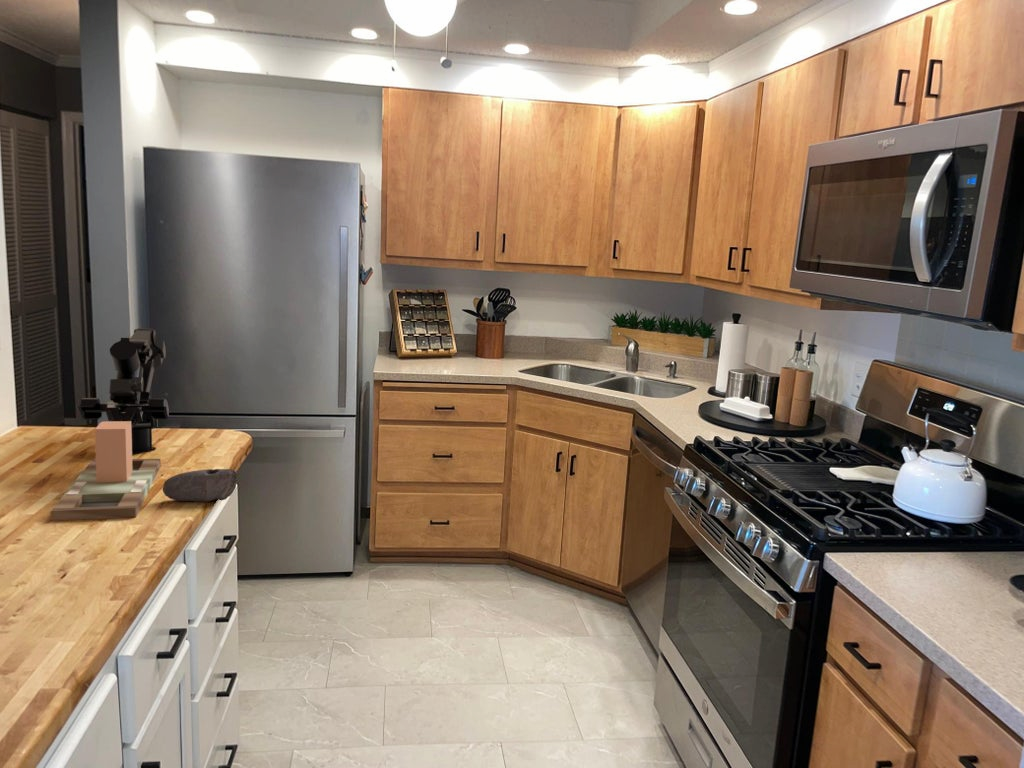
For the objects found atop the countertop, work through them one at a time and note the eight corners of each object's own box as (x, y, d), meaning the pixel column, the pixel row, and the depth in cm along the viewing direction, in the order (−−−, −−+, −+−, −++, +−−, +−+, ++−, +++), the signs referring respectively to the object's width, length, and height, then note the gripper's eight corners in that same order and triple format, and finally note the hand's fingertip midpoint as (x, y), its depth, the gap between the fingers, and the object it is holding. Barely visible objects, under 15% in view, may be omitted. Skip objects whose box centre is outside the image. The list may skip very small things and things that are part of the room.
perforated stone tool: (160, 505, 160) (159, 474, 159) (165, 497, 165) (164, 466, 164) (235, 504, 164) (235, 473, 162) (237, 496, 169) (237, 466, 167)
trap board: (92, 467, 181) (92, 459, 180) (160, 466, 185) (160, 457, 185) (51, 520, 148) (50, 510, 147) (135, 517, 152) (135, 506, 152)
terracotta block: (103, 472, 172) (101, 421, 170) (132, 471, 174) (131, 421, 171) (96, 482, 165) (94, 429, 163) (126, 481, 167) (125, 428, 165)
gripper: (78, 364, 174) (68, 421, 166) (166, 365, 180) (160, 421, 172) (87, 390, 183) (78, 446, 175) (171, 391, 189) (166, 445, 180)
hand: (120, 439), depth 175 cm, fingers closed
